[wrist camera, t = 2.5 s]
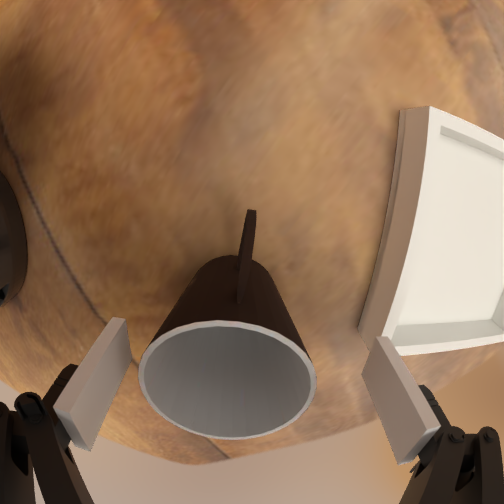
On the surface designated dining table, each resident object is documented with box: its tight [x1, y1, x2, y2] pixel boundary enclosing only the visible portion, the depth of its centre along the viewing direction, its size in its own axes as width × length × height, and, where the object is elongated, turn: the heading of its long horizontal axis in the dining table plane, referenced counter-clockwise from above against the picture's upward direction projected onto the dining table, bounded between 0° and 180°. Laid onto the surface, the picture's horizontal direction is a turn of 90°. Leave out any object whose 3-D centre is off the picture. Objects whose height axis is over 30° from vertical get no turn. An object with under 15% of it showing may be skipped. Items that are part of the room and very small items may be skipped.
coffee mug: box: [138, 209, 317, 440], centre depth 17 cm, size 12×9×10 cm
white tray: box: [357, 106, 504, 356], centre depth 19 cm, size 18×18×4 cm
